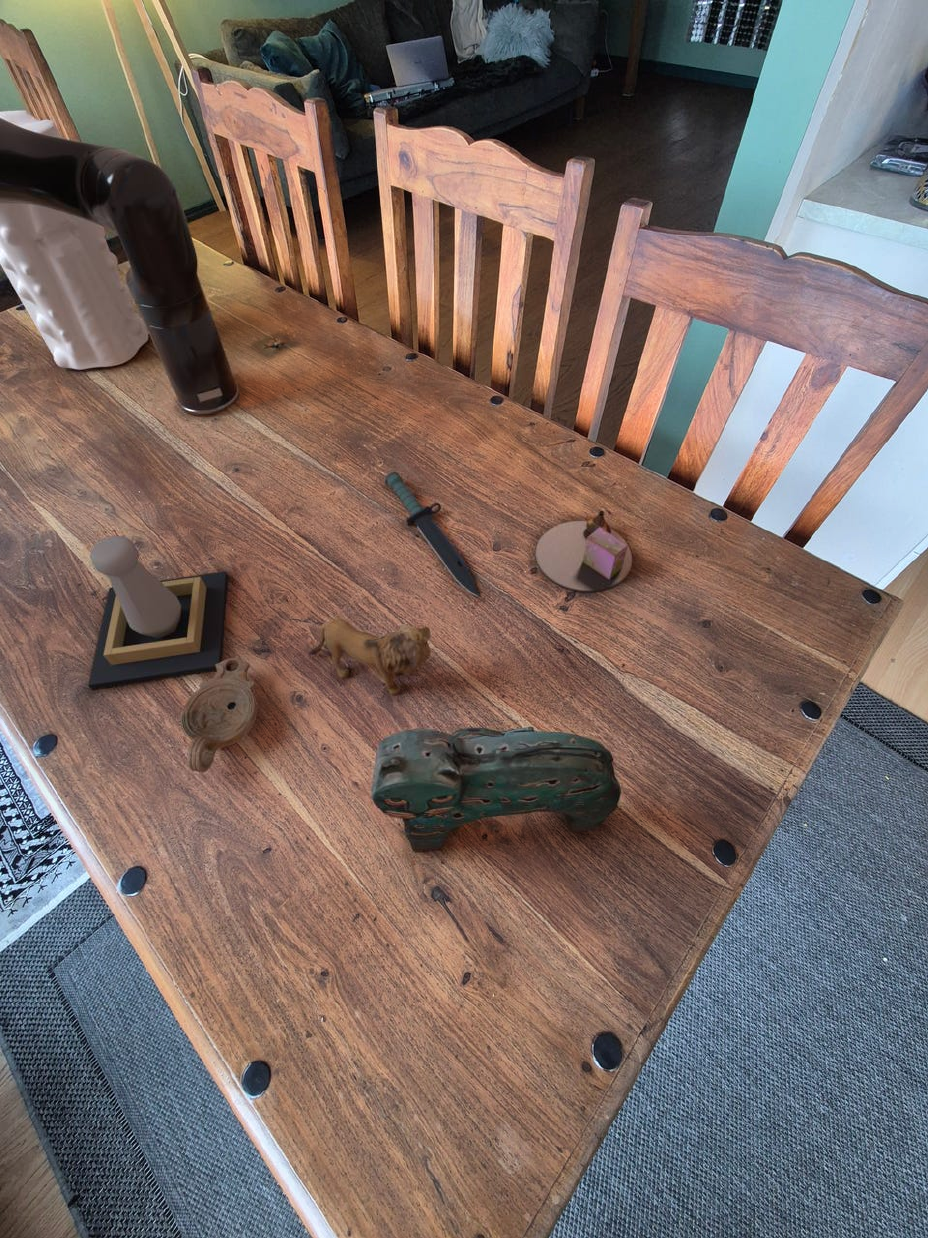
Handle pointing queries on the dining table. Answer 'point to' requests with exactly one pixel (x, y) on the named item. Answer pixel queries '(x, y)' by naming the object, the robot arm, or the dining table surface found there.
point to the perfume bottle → (584, 555)
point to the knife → (433, 533)
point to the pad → (173, 655)
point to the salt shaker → (136, 588)
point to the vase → (68, 278)
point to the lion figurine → (377, 649)
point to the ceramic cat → (490, 779)
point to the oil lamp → (219, 712)
